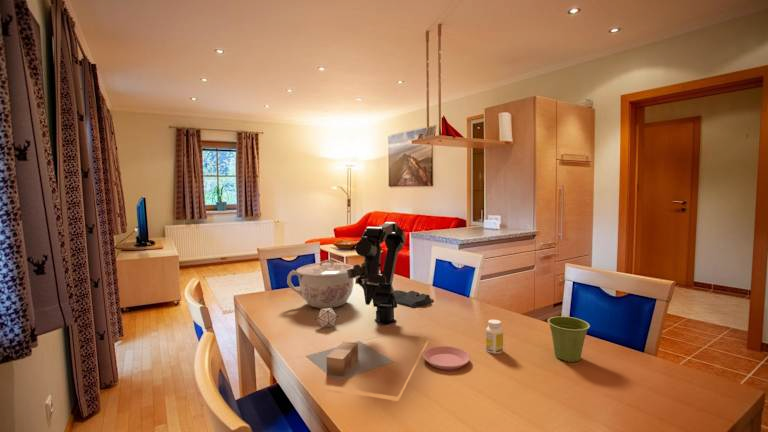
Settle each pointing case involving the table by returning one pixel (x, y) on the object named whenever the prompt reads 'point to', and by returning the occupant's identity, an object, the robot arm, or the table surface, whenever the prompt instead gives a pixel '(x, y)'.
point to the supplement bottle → (494, 337)
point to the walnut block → (342, 358)
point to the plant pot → (568, 337)
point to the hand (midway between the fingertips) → (367, 304)
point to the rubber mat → (365, 362)
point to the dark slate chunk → (412, 299)
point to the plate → (446, 357)
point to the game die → (326, 317)
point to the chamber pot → (323, 283)
